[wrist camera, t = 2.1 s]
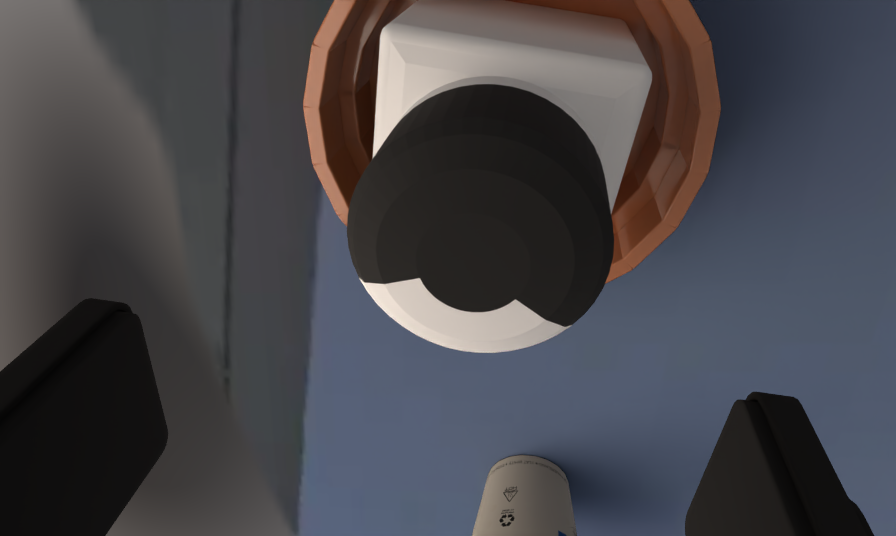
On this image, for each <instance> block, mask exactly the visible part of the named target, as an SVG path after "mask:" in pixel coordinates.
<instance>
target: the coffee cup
mask: <svg viewBox="0 0 896 536" xmlns="http://www.w3.org/2000/svg"><path fill="white" fill-rule="evenodd" d="M472 536H577V532H576V526H575V520H574V514H573V508H572V502H571V496H570V490H569V484H568V480H567V478H566V475H565V473H564V472H563V471H562V470H561V469H560V468H559V467H558V466H557V465H555V464H553V463H552V462H550V461H548V460H546V459H543V458H539V457H536V456H528V455H518V456H512V457H508V458H505V459H503V460H501V461H499V462H497V463H496V464H495V465H494V466H493V467H492V468H491V470H490V472H489V474H488V477H487V481H486V485H485V489H484V493H483V496H482V500H481V504H480V508H479V511H478V515H477V519H476V523H475V526H474V530H473V534H472Z"/></svg>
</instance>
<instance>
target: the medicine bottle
mask: <svg viewBox="0 0 896 536" xmlns="http://www.w3.org/2000/svg"><path fill="white" fill-rule="evenodd" d="M651 82H652V72H651V70H650V68H649V66H648V64H647V62H646V61H645V59H644V57H643V55H642V53H641V51H640V49H639V47H638V45H637V43H636V41H635V39H634V37H633V35H632V34H631V32H630V30H629V28H628V26H627V24H626V22H625V21H623V20H621V19H617V18H611V17H604V16H598V15H592V14H586V13H580V12H574V11H567V10H561V9H555V8H549V7H543V6H536V5H530V4H524V3H518V2H512V1H505V0H418V1H416V2H415V3H414V4H413V5H411V6H410V7H409V8H408V9H406V10H405V11H404V12H403V13H401V14H400V15H399V16H397V17H396V18H395V19H394V20H392V21H391V22H390V23H389V24H387V25H386V26H385V27H384V28H383V29H382V32H381V35H380V48H379V64H378V80H377V96H376V112H375V128H374V144H373V159H372V160H371V162H370V163H369V165H368V166H367V168H366V169H365V171H364V172H363V174H362V176H361V178H360V179H359V181H358V183H357V185H356V187H355V190H354V193H353V195H352V198H351V201H350V206H349V211H348V218H347V237H348V246H349V250H350V254H351V258H352V262H353V265H354V267H355V269H356V272H357V274H358V276H359V278H360V280H361V282H362V283H363V285H364V287H365V288H366V290H367V292H368V293H369V294H370V295H371V297H372V298H373V299H374V301H375V302H376V303H377V304H378V305H379V306H380V307H381V308H382V309H383V310H384V311H385V312H386V313H387V314H388V315H389V316H390V317H391V318H393V319H394V320H395V321H396V322H398V323H399V324H400V325H402V326H403V327H404V328H406V329H408V330H409V331H411V332H413V333H414V334H416V335H417V336H420V337H422V338H424V339H426V340H428V341H430V342H432V343H435V344H438V345H441V346H444V347H447V348H452V349H456V350H461V351H468V352H477V353H495V352H505V351H512V350H517V349H521V348H526V347H529V346H532V345H535V344H538V343H541V342H544V341H546V340H548V339H550V338H552V337H554V336H556V335H558V334H559V333H561V332H562V331H564V330H565V329H567V328H568V327H570V326H571V325H573V324H574V323H575V322H576V321H577V320H578V319H579V318H581V317H582V316H583V315H584V314H585V313H586V312H587V310H588V309H589V308H590V307H591V306H592V304H593V303H594V302H595V300H596V299H597V297H598V296H599V294H600V292H601V291H602V289H603V287H604V285H605V282H606V280H607V277H608V275H609V272H610V268H611V264H612V260H613V252H614V232H613V222H612V216H611V213H612V210H613V207H614V203H615V200H616V197H617V194H618V190H619V187H620V184H621V181H622V177H623V174H624V171H625V167H626V164H627V161H628V158H629V154H630V151H631V148H632V145H633V141H634V138H635V135H636V131H637V128H638V125H639V122H640V118H641V115H642V112H643V108H644V105H645V102H646V99H647V95H648V92H649V89H650V86H651Z"/></svg>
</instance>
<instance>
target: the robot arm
mask: <svg viewBox="0 0 896 536" xmlns="http://www.w3.org/2000/svg"><path fill="white" fill-rule="evenodd" d="M167 439H168V429H167V425H166V421H165V417H164V413H163V409H162V405H161V401H160V397H159V393H158V389H157V385H156V381H155V377H154V373H153V369H152V365H151V361H150V357H149V354H148V349H147V345H146V341H145V337H144V333H143V329H142V325H141V322H140V319H139V317H138V316H137V315H136V314H133V313H132V311H131V308H130V307H129V306H128V305H127V304H124V303H120V302H114V301H107V300H100V299H92V298H90V299H85V300H83V301H82V302H80V303H79V304H78V305H77V306H75V307H74V308H73V309H72V310H71V311H70V312H68V313H67V314H66V315H65V316H64V317H63V318H62V319H60V320H59V321H58V322H57V323H56V324H55V325H53V326H52V327H51V328H50V329H49V330H48V331H47V332H45V333H44V334H43V335H42V336H41V337H40V338H39V339H37V340H36V341H35V342H34V343H33V344H32V345H31V346H29V347H28V348H27V349H26V350H25V351H23V352H22V353H21V354H20V355H19V356H18V357H17V358H16V359H14V360H13V361H12V362H11V363H10V364H8V365H7V366H6V367H5V368H4V369H3V370H2V371H1V372H0V536H105V535H106V534H107V532H108V531H109V529H110V528H111V527H112V525H113V524H114V522H115V521H116V519H117V518H118V516H119V515H120V514H121V512H122V511H123V509H124V508H125V506H126V505H127V504H128V502H129V501H130V499H131V497H132V496H133V495H134V493H135V492H136V490H137V489H138V487H139V486H140V485H141V483H142V482H143V480H144V479H145V477H146V476H147V474H148V473H149V472H150V470H151V469H152V467H153V466H154V464H155V463H156V462H157V460H158V459H159V457H160V455H161V454H162V453H163V451H164V449H165V446H166V443H167ZM685 535H686V536H874V534H873V532H872V531H871V529H870V527H869V525H868V523H867V521H866V519H865V517H864V515H863V514H862V512H861V511H860V509H859V508H858V506H857V505H856V504H855V503H854V502H853V501H851V500H850V499H849V498H848V496H847V494H846V492H845V490H844V488H843V486H842V484H841V482H840V480H839V478H838V476H837V474H836V472H835V470H834V468H833V466H832V464H831V462H830V460H829V458H828V456H827V454H826V452H825V450H824V448H823V447H822V445H821V443H820V441H819V439H818V437H817V435H816V433H815V431H814V429H813V427H812V425H811V423H810V421H809V419H808V417H807V415H806V413H805V411H804V409H803V407H802V405H801V403H800V402H799V400H798V399H796V398H794V397H790V396H782V395H775V394H768V393H761V392H752V393H751V394H749V395H748V397H747V399H746V400H737V401H736V402H735V403H734V405H733V407H732V409H731V411H730V414H729V416H728V418H727V421H726V423H725V425H724V428H723V430H722V432H721V435H720V437H719V439H718V442H717V444H716V446H715V449H714V451H713V453H712V456H711V458H710V460H709V463H708V465H707V467H706V470H705V472H704V474H703V477H702V479H701V481H700V484H699V486H698V488H697V491H696V493H695V495H694V498H693V500H692V502H691V505H690V507H689V509H688V512H687V515H686V521H685Z"/></svg>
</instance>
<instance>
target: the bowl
mask: <svg viewBox="0 0 896 536" xmlns="http://www.w3.org/2000/svg"><path fill="white" fill-rule="evenodd" d="M416 1H418V0H334V1H333V3H332V5H331V7H330V9H329V11H328V13H327V15H326V17H325V19H324V21H323V23H322V25H321V27H320V28H319V30H318V32H317V34H316V36H315V38H314V40H313V44H312V47H311V53H310V60H309V67H308V74H307V80H306V87H305V94H304V101H303V105H304V106H303V109H304V115H305V121H306V128H307V134H308V140H309V146H310V152H311V158H312V163H313V164H314V165H313V166H314V169H315V171H316V173H317V175H318V177H319V179H320V181H321V183H322V185H323V187H324V189H325V191H326V193H327V195H328V197H329V199H330V201H331V203H332V205H333V207H334V209H335V212H336V214H337V215H338V216H339V218H340V219H341V220H342V222H343V223H344V224H345V225H346V226H347V218H348V211H349V206H350V201H351V198H352V195H353V193H354V190H355V187H356V185H357V183H358V181H359V179H360V178H361V176H362V174H363V172H364V171H365V169H366V168H367V166H368V165H369V163H370V162H371V160H372V159H373V144H374V128H375V112H376V96H377V80H378V64H379V48H380V35H381V32H382V29H383V28H384V27H385V26H386V25H387V24H389V23H390V22H391V21H392V20H394V19H395V18H396V17H397V16H399V15H400V14H401V13H403V12H404V11H405V10H406V9H408V8H409V7H410V6H411V5H413V4H414V3H415V2H416ZM505 1H512V2H518V3H524V4H530V5H536V6H543V7H549V8H555V9H561V10H567V11H574V12H580V13H586V14H592V15H598V16H604V17H611V18H617V19H621V20H623V21H625V22H626V24H627V26H628V28H629V30H630V32H631V34H632V35H633V37H634V39H635V41H636V43H637V45H638V47H639V49H640V51H641V53H642V55H643V57H644V59H645V61H646V62H647V64H648V66H649V68H650V70H651V72H652V82H651V86H650V89H649V92H648V95H647V99H646V102H645V105H644V108H643V112H642V115H641V118H640V122H639V125H638V128H637V131H636V135H635V138H634V141H633V145H632V148H631V151H630V154H629V158H628V161H627V164H626V167H625V171H624V174H623V177H622V181H621V184H620V187H619V190H618V194H617V197H616V200H615V203H614V207H613V210H612V213H611V216H612V222H613V232H614V252H613V260H612V264H611V268H610V272H609V275H608V277H607V280H606V282H605V284H606V283H608V282H610V281H612V280H614V279H616V278H618V277H620V276H622V275H624V274H625V273H627V272H629V271H631V270H633V268H635V267H636V266H637V265H638V264H640V263H641V262H642V261H643V260H644V259H645V258H646V257H647V256H648V255H649V254H650V253H651V252H652V251H653V250H654V249H656V248H657V247H658V246H659V245H660V244H661V243H662V242H663V241H664V240H665V239H666V238H667V237H668V236H669V235H670V234H672V233H673V232H674V231H675V230H676V228H677V227H678V226H679V224H680V223H681V221H682V219H683V217H684V215H685V214H686V212H687V210H688V208H689V207H690V205H691V203H692V201H693V200H694V198H695V196H696V194H697V193H698V191H699V189H700V187H701V186H702V184H703V182H704V180H705V179H706V177H707V173H708V172H709V169H710V163H711V158H712V153H713V148H714V143H715V138H716V133H717V128H718V123H719V118H720V113H721V102H720V96H719V89H718V82H717V75H716V68H715V62H714V55H713V48H712V41H711V40H710V36H709V35H708V33H707V31H706V29H705V27H704V26H703V24H702V22H701V20H700V18H699V17H698V15H697V13H696V11H695V9H694V8H693V6H692V4H691V2H690V0H505Z"/></svg>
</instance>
